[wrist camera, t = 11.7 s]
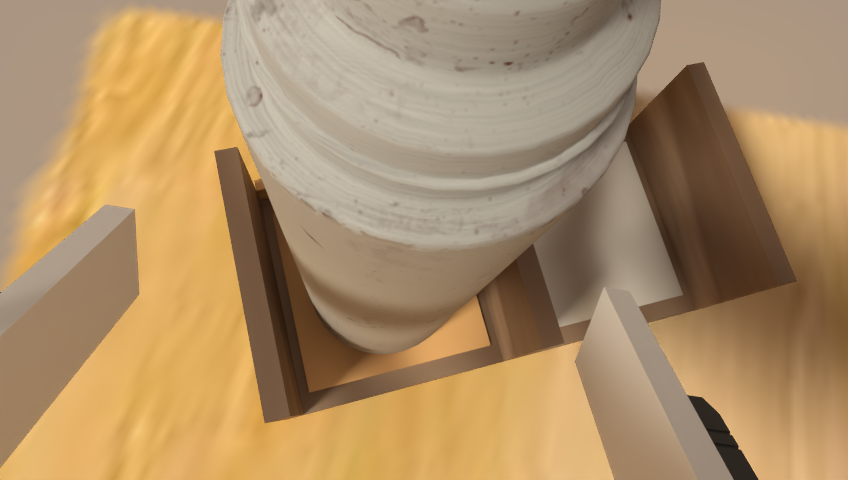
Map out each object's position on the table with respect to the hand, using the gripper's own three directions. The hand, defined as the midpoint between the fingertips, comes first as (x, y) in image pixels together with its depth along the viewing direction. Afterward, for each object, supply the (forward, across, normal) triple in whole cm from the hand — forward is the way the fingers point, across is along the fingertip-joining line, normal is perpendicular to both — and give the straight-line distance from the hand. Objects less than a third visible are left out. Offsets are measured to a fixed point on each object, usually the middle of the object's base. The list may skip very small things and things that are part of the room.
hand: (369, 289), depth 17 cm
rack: (+16, +6, -8) cm, 19 cm away
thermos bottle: (+14, +1, -8) cm, 16 cm away
